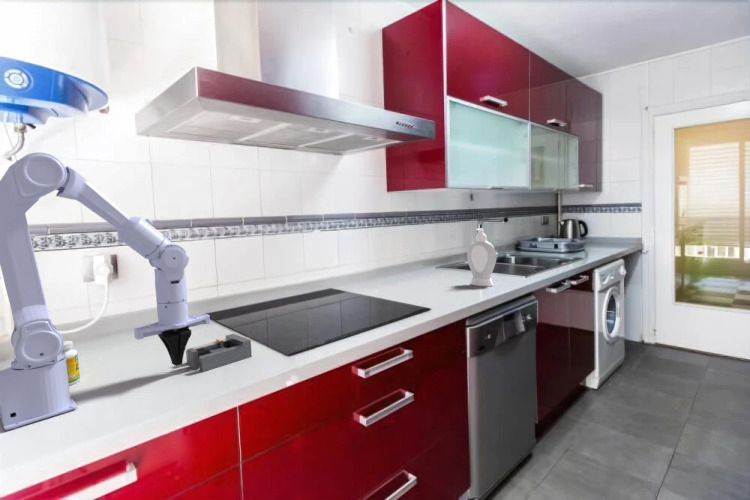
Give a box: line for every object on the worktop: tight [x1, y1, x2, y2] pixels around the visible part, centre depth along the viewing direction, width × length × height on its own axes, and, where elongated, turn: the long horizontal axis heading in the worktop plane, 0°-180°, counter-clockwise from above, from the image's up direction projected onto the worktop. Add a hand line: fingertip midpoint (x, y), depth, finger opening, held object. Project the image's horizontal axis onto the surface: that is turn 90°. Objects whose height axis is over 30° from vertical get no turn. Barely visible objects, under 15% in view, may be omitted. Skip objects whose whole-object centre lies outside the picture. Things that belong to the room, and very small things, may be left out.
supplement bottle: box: [62, 340, 81, 387], centre depth 81 cm, size 5×5×8 cm
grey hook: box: [186, 338, 227, 371], centre depth 91 cm, size 8×6×4 cm
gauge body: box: [185, 333, 253, 373], centre depth 92 cm, size 12×8×4 cm
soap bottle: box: [466, 227, 497, 287], centre depth 169 cm, size 13×8×24 cm, turn 53°
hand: (177, 363), depth 85 cm, fingers closed
